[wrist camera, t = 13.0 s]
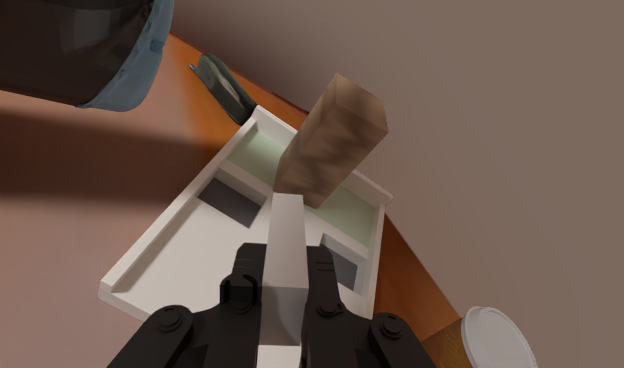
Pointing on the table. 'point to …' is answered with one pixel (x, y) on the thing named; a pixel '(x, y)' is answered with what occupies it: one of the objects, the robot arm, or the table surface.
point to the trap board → (246, 234)
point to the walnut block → (331, 142)
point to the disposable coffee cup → (480, 342)
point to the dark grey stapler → (225, 88)
